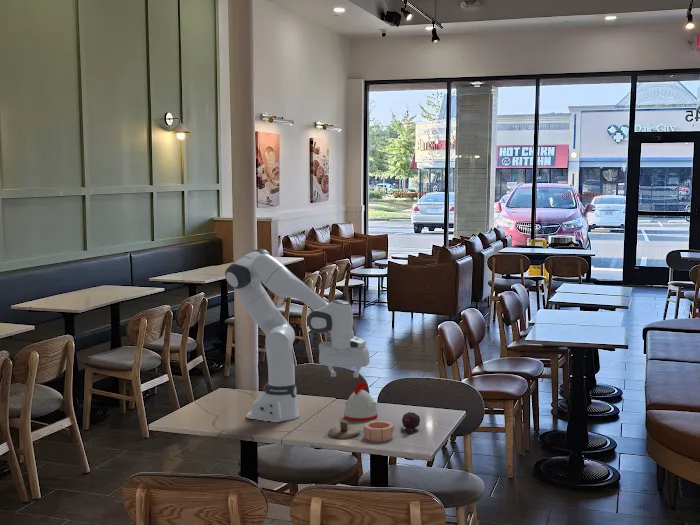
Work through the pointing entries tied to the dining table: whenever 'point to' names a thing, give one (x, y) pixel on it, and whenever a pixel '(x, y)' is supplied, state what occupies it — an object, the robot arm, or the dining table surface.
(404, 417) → the icecream
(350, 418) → the kitchen timer
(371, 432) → the bowl
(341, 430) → the lid
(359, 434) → the mat
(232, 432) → the dining table surface
